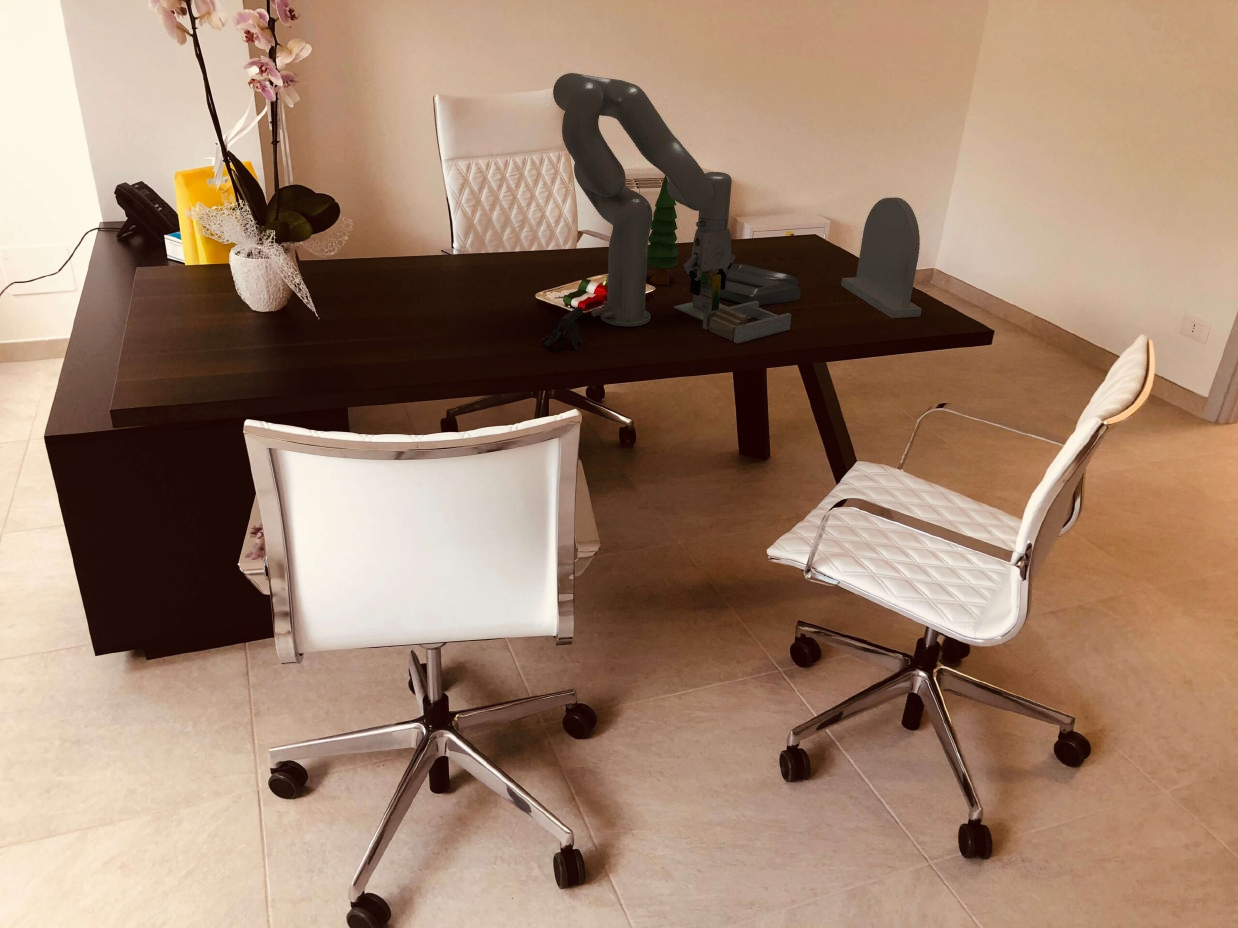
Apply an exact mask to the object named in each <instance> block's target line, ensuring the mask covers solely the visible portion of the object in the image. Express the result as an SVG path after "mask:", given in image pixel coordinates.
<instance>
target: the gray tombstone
mask: <svg viewBox="0 0 1238 928" xmlns="http://www.w3.org/2000/svg"><path fill="white" fill-rule="evenodd" d="M920 237H921V236H920V229H919V224H918V219H917V217H916V214H915V212H914V209H913V208H912V207H911V205H910V204H909V203H908V202H907V201H906V200H905V199H903V198H900V197H895V196H894V197H883V198H882V199H880V200H878V201H877V202H876V203H875V204H874V205H873V207H871V209H870V211H869V213H868V215H867V218H866V220H865V223H864V227H863V232H862V239H861V244H860V251H859V256H858V257H859V258H858V262H857V269H856V276H854V277H842V278H841V282H840V284H841V285H840V286H841V287H843V288H844V289H845V290H848V291H849V292H850V293H852V294H853V295H855V296H857V297H858V298H860V299H862V300H863V302H864V301H865V302H866V303H868V304H869V305H870V306H872V307H874V308H875V309H877V310H879V311H880V312H881V313H883V314H885V315H887V316H888V317H889V318H891V319H904V318H915V317H916V318H917V317H921V316H922V315H921V314H922V308H921V307H919V306H918V305H917V304H915V303H914V302H911V298H912V294H913V288H914V283H915V278H916V273H917V265H918V262H919V256H920V249H921V248H920V246H921V242H920V241H921V238H920Z"/></svg>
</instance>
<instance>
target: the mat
mask: <svg viewBox="0 0 1238 928" xmlns="http://www.w3.org/2000/svg"><path fill="white" fill-rule="evenodd" d="M722 307H726V308H727V307H728V306H727V305H724V304H722V303H720V302H719V309H720V308H722ZM673 309H675V310H678V311H680V312H683V313H685V314H687V315H690V316H691V317H694V318H695V319H698V320H701V321H703V318H704V313H706V312H707V311H704V310H702V309H700V308H697V307H694V306H693V301H691V302H686V303H683V304H679V305H674V306H673Z"/></svg>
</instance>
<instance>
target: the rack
mask: <svg viewBox="0 0 1238 928" xmlns="http://www.w3.org/2000/svg"><path fill="white" fill-rule="evenodd" d="M727 308H728V309H731V310H733V311H736V312H738V313H741V314H743V315H746V316H747V320H749V319H750V320H751V319H757V320H756V321H752V322H747V324H743V325H739V326H735V335H734V340H733V343H735V344H741V343H745V342H749V341H752V340H757V339H761V338H764V337H767V336H772V335H775V334H779V333H783V332H785V331H790V328H791V320H792V313H789V312H786V313H782V314H779V315H778V314H776V313H773V312H771V311H768V310H766V309H763V308H760V305H759V302H758V301H753V302H748V303H744V304H741V303H739V304H736V305H732V306H727ZM717 312H720V309H719V310H715V311H711V312H706V313H704V318H703V320H702V329H703V330H705V331H707V330H710V318H712V317H715V313H717Z"/></svg>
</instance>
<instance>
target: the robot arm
mask: <svg viewBox="0 0 1238 928" xmlns="http://www.w3.org/2000/svg"><path fill="white" fill-rule="evenodd" d="M552 96H553V99H554V102H555V103H556V105H557V106H558V107H559V109H561V110H562V111H564V113H563V117H562V125H561V134H562V136H561V137H562V141H563V144H564V145H565V148H566V149H567V151H568V153H569V155H570V156H571V158H572V160H573V162H574V164H573V173H574V178H575V179H576V180H575V181H576V182H577V184H578V186H579V187H580V189H582V191H583V193H584V194H585V196H586V197H587V199H588V200H589V202H590V203H591V204H592V206H593V207H594V209H595V210H596V212H597V213H598V215H600V216H601V218H603V220H604V221H606V222H607V223H609V224H611V225H612V229H611V230H612V231H611V234H610V237H609V244H608V263H607V264H608V265H607V268H608V269H607V271H608V273H607V300H606V301H603V305H601V307H596V308H592V309H591V310H590V311H591V312H590V313H591V316H592V317H594V318H595V317H599V316H600V319H601V320H602V321H603V322H604V323H606V324H608V325H610V326H611V325H612V326H617V327H628V328H629V327H639V326H643V325H646V324H648V323H649V322H650V321H651V313H650V312H649V311H647V310H646V294H647V292H646V291H647V271H648V265H647V257H648V256H647V252H648V247H649V236H650V234H651V225H652V221H653V214H654V213H653V209H652V207H651V204H650V202H649V201H648V200H647V199H646V197H645V196H644V195H642V194H640V193H639V192H637V191H635V190H633V189H631V188H629V187H628V186H627V185H626V180H627V179H626V177H627V176H626V171H625V169H624V167H623V165H622V164H621V163H622V162H620V160H619V159H618V158H617V156H616V155H615V153H614V152H613V151H612V149H611V148H610V146H609V144H608V142H607V141H606V139H605V137H604V136H603V134H602V132H601V130H600V126H599V121H600V117H601V116H602V117H608V118H609V117H610V118H613V119H616V120H617V122H618V123H619V124H620V125H621V127H622V128H623V130H624V132H625V133H626V134H627V135H628V137H629V138H630V140H631V141H632V142H633V144H634V146H635V147H636V148H637V150H638V151H639V153H640V154H641V155H642V156H643V157H644V158H645V159H646V160H647V162H649V163H650V164H651V165H652V166H654V167H655V168H656V169H658V170H659V171H660V172H661V173H662V174H664V176H665V175H666V176H667V179H668V184H667V191H668V194H669V195H670V197H671V198H672V199H673V200H675V202H676V203H678V204H680V205H682V206H684V207H686V208H688V209H690V210H691V211H695V212H696V211H697V212H698V218H697V222H695V226H696V227H697V228H696V230H695V233H694V237H693V242H692V250H691V256H690V258H689V259H688V260H687V261H686V262H685V263H684V264H683V268H684V270H685V273H686V274H687V276H688V278H689V279H690V283H689V284H690V285H689V293H691V294H692V295H693V294H694V295H697V296H698V295H700V287H701V280H699V279H700V277H701V275H702V273H703V272H709V271H711V270H712V269H713V270H718V271H719V272H717V273H716V274H719V275H721V286H720V289H722V290H725V285H726V275H727V274H728V273H729V271H728V270H729V269H730V268H731V266H732V264H734V262H735V259H736V255H735V254H734V253H732V236H731V231H730V228H729V218H730V217H729V216H730V206H731V195H732V194H731V193H732V183H733V182H732V181H733V180H732V177H731V175H730V174H728V173H727V172H721V171H708V172H704V170H703V168H702V167H701V165H700V164H699V163H698V162H697V160H696V159H695V158H694V157H693V156H692V154H691V153H690V152H689V151H688V149H686V147H685V146H684V145H683V144H682V143H681V141H680V140H679V139H678V137H676V136H675V134H674V133H673V132H672V131H671V130H670V128H669V126H668V125H667V123H666V122H665V121H664V120H663V118H662V116H661V115H660V113H659V111H658V109H656V107H655V106H654V104H653V103H652V101H651V99H650V98H649V96H648V95H647V93H645V91H644V90H643V89H642V88H641V87H640V86H638V85H637V84H635V83H633V82H629V81H625V80H622V79H615V78H608V77H607V78H606V77H600V76H594V75H588V74H584V73H582V74H581V73H577V72H576V73H575V72H569V73H565V74H563V75H561V76H560V77H558V79H557V80H556V81H555V83H554V85H553V88H552ZM697 270H698V272H697V274H696V271H697Z"/></svg>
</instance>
